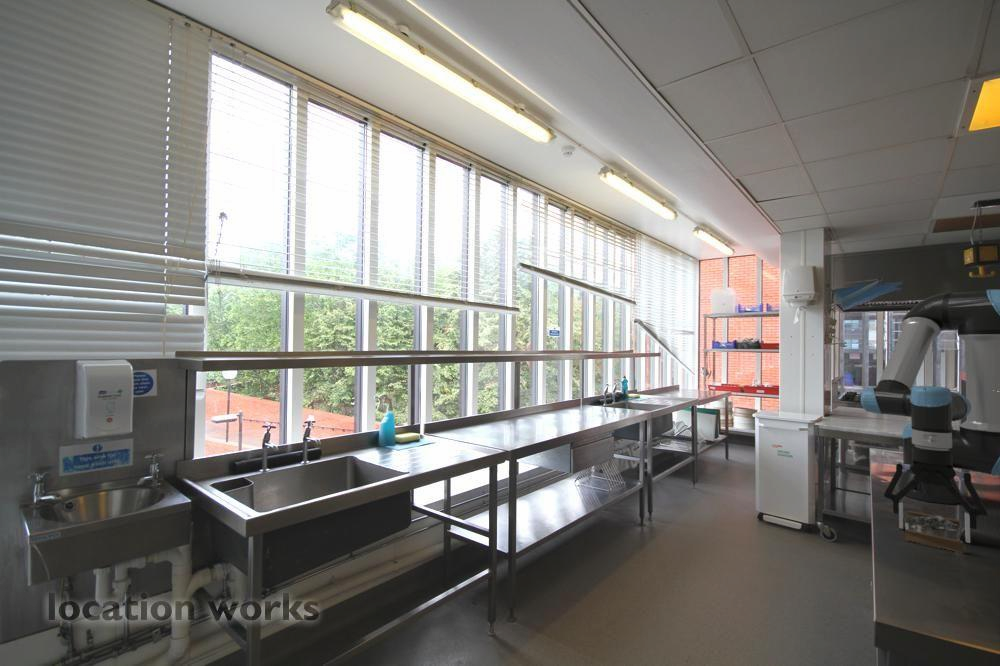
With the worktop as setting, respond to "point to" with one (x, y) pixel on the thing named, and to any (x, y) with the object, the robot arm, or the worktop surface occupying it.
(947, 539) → the parallel wooden rails
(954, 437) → the robot arm
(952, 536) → the egg carton
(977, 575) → the worktop surface
